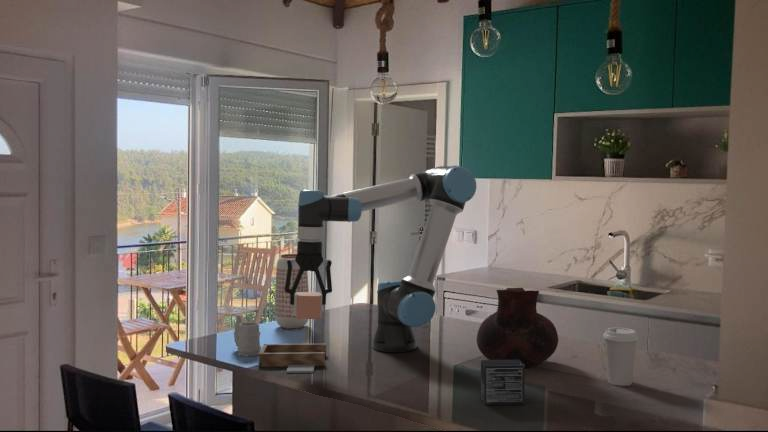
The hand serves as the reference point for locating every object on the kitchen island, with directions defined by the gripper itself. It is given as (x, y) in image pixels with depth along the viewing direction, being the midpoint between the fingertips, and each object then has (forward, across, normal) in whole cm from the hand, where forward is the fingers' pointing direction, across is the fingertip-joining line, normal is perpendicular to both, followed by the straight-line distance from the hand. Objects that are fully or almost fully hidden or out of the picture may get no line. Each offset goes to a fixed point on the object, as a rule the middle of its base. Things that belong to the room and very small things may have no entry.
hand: (307, 315), depth 212 cm
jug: (+14, -65, +9) cm, 67 cm away
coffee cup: (+13, -87, +32) cm, 93 cm away
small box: (+15, -48, +41) cm, 65 cm away
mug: (+17, +18, -23) cm, 34 cm away
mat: (+16, +2, +2) cm, 17 cm away
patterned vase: (+16, 0, -58) cm, 60 cm away
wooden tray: (+16, +3, -9) cm, 19 cm away
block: (0, 0, 0) cm, 0 cm away
